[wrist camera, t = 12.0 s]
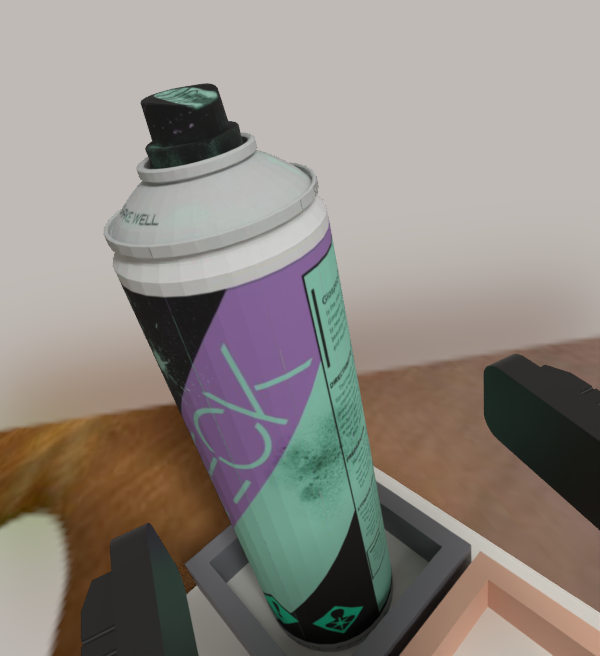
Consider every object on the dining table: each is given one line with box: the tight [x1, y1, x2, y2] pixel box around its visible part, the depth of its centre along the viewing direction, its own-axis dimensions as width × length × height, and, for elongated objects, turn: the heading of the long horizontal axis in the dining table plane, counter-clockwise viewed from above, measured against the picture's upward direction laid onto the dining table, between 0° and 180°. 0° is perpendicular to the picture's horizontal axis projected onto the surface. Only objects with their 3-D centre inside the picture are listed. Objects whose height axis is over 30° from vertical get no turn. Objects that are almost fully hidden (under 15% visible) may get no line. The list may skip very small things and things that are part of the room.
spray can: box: [104, 84, 393, 652], centre depth 16 cm, size 6×6×20 cm
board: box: [185, 466, 600, 656], centre depth 18 cm, size 12×18×3 cm, turn 42°
